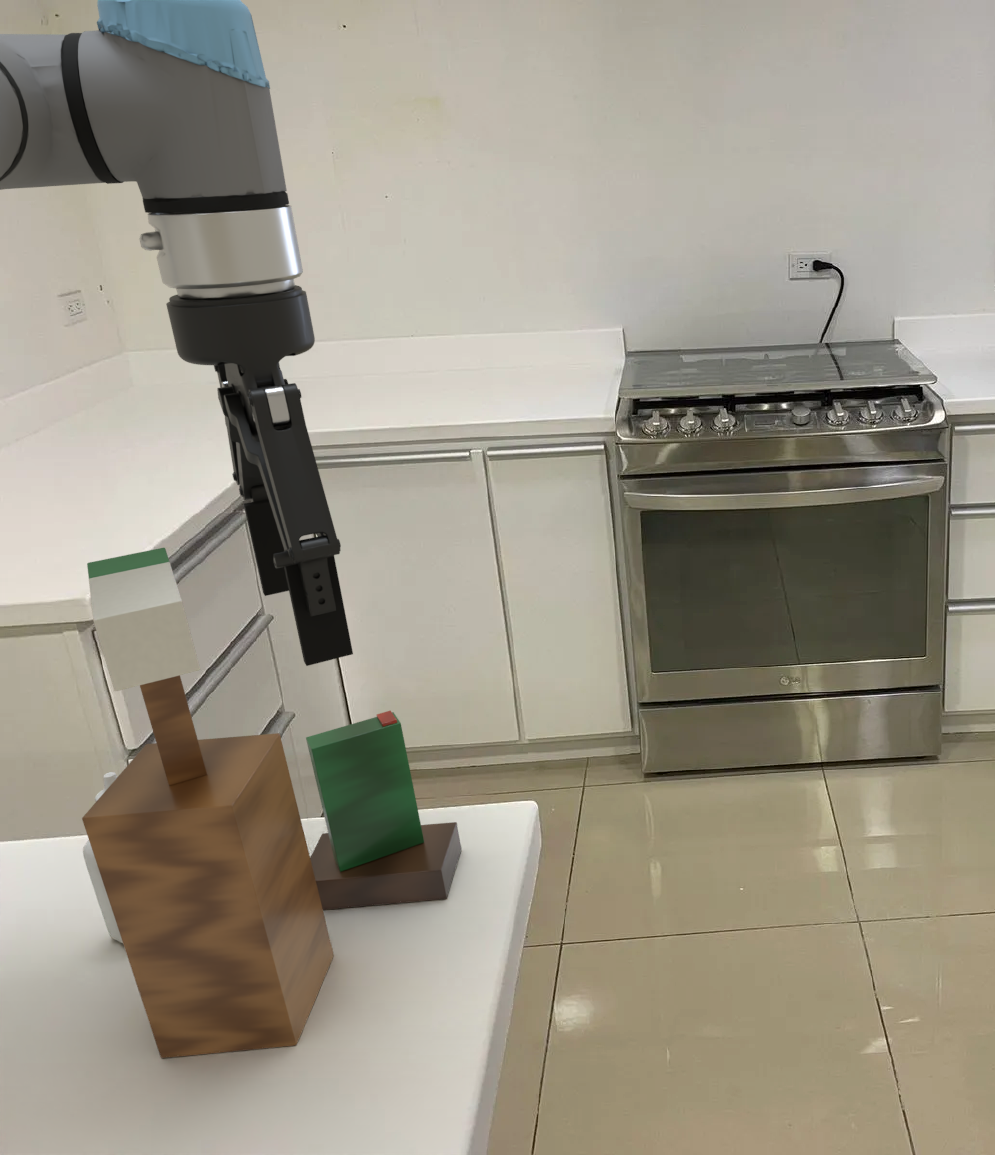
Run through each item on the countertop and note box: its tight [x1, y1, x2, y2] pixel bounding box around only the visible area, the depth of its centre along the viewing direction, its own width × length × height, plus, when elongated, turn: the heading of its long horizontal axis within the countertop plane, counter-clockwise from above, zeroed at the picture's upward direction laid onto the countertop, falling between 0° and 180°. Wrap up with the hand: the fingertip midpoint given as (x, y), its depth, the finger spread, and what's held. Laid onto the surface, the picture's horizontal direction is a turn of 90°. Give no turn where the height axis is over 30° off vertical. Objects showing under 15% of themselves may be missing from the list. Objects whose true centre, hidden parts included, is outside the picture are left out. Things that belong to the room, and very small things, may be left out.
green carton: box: [305, 710, 424, 872], centre depth 80 cm, size 6×2×10 cm, turn 122°
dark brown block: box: [310, 821, 462, 911], centre depth 82 cm, size 10×6×2 cm, turn 94°
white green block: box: [86, 547, 201, 692], centre depth 61 cm, size 10×4×4 cm, turn 31°
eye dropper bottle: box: [82, 771, 123, 944], centre depth 77 cm, size 4×6×12 cm
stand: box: [81, 675, 335, 1059], centre depth 67 cm, size 8×8×25 cm
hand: (305, 622), depth 73 cm, fingers open, 13 cm apart
